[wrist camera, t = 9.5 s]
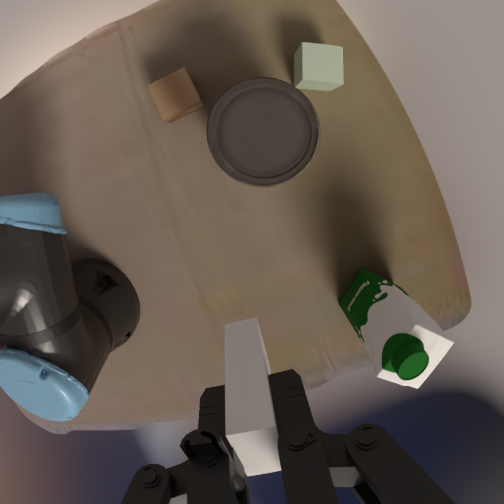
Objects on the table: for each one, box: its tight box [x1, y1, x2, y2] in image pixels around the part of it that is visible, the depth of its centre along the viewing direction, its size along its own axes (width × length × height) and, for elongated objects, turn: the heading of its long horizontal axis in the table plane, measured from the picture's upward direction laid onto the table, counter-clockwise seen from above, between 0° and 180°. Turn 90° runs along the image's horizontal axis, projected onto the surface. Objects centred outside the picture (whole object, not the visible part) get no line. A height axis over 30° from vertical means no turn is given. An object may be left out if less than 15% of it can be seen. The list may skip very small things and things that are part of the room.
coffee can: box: [207, 77, 320, 187], centre depth 34 cm, size 10×10×14 cm
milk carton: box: [339, 267, 454, 388], centre depth 39 cm, size 9×9×20 cm
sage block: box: [294, 42, 343, 91], centre depth 35 cm, size 5×5×6 cm
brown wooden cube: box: [147, 67, 205, 123], centre depth 36 cm, size 5×5×5 cm
